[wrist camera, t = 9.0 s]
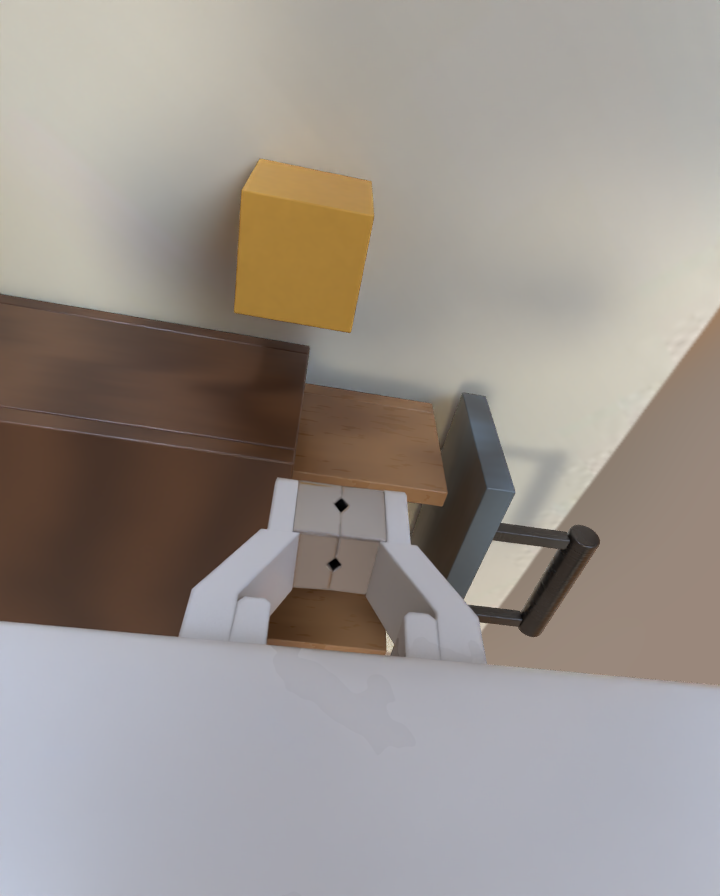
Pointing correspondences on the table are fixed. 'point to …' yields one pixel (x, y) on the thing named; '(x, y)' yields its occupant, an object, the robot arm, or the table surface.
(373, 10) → the table surface
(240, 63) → the table surface
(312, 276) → the block
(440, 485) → the drawer
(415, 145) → the table surface
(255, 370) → the cabinet
